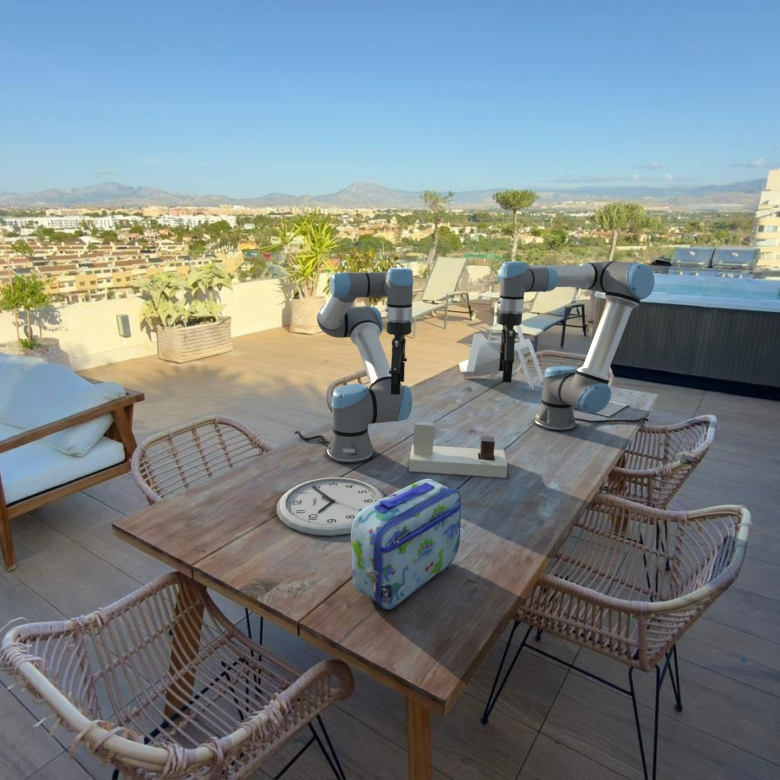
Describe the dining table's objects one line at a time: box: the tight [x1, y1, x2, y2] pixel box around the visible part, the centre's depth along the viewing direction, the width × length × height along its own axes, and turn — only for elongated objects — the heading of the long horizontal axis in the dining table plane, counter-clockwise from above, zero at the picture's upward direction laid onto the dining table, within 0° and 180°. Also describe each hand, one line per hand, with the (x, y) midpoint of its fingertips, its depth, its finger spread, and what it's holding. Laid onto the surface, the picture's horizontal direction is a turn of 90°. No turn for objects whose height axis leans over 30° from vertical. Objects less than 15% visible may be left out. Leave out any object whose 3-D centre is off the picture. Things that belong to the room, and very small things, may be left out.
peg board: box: [408, 420, 508, 479], centre depth 166 cm, size 30×12×14 cm, turn 83°
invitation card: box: [573, 400, 629, 418], centre depth 226 cm, size 21×1×15 cm
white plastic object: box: [458, 325, 544, 391], centre depth 258 cm, size 37×45×31 cm
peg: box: [479, 435, 496, 460], centre depth 165 cm, size 4×4×10 cm
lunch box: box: [350, 478, 462, 611], centre depth 110 cm, size 26×11×21 cm, turn 135°
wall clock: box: [276, 476, 386, 537], centre depth 142 cm, size 30×2×30 cm
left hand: (397, 387), depth 164 cm, fingers open, 13 cm apart
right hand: (504, 376), depth 171 cm, fingers open, 13 cm apart
